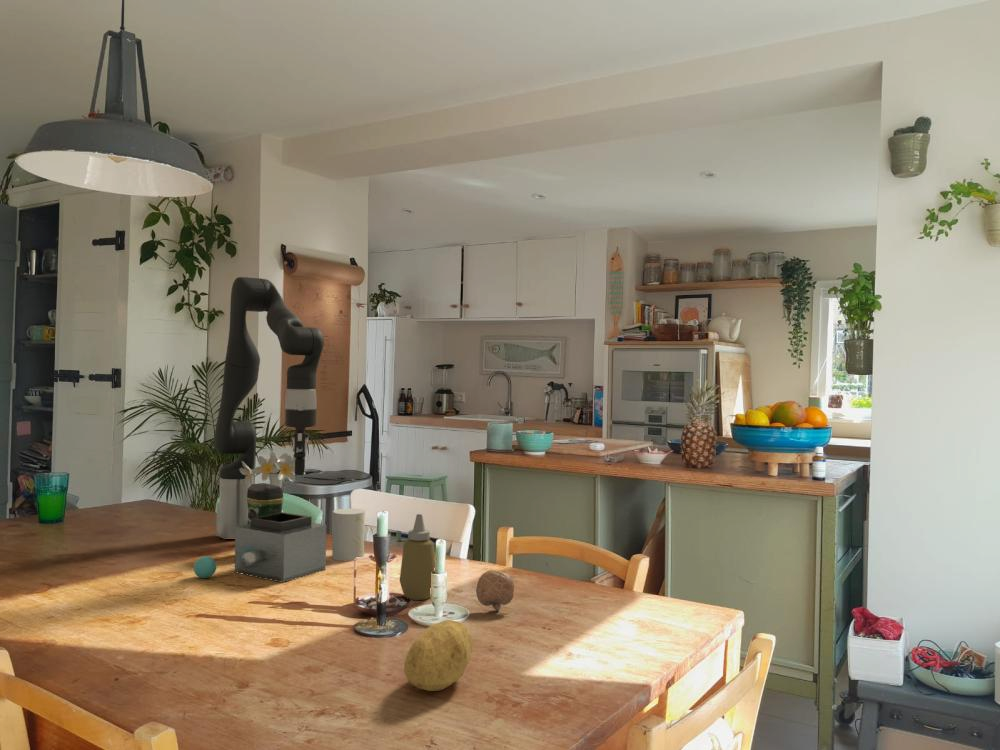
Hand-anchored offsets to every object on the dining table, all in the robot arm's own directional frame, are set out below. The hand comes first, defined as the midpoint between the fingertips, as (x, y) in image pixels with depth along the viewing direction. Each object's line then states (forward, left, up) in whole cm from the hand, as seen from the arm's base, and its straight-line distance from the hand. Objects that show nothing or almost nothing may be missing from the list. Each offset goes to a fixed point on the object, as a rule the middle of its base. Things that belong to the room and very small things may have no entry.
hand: (299, 472), depth 195 cm
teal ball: (-10, -20, -23) cm, 32 cm away
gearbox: (0, -8, -23) cm, 25 cm away
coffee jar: (-16, +4, -24) cm, 29 cm away
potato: (+70, -42, -24) cm, 85 cm away
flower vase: (-26, +17, -24) cm, 39 cm away
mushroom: (+59, -4, -24) cm, 64 cm away
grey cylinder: (+4, +14, -24) cm, 28 cm away
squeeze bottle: (+40, -5, -24) cm, 47 cm away
